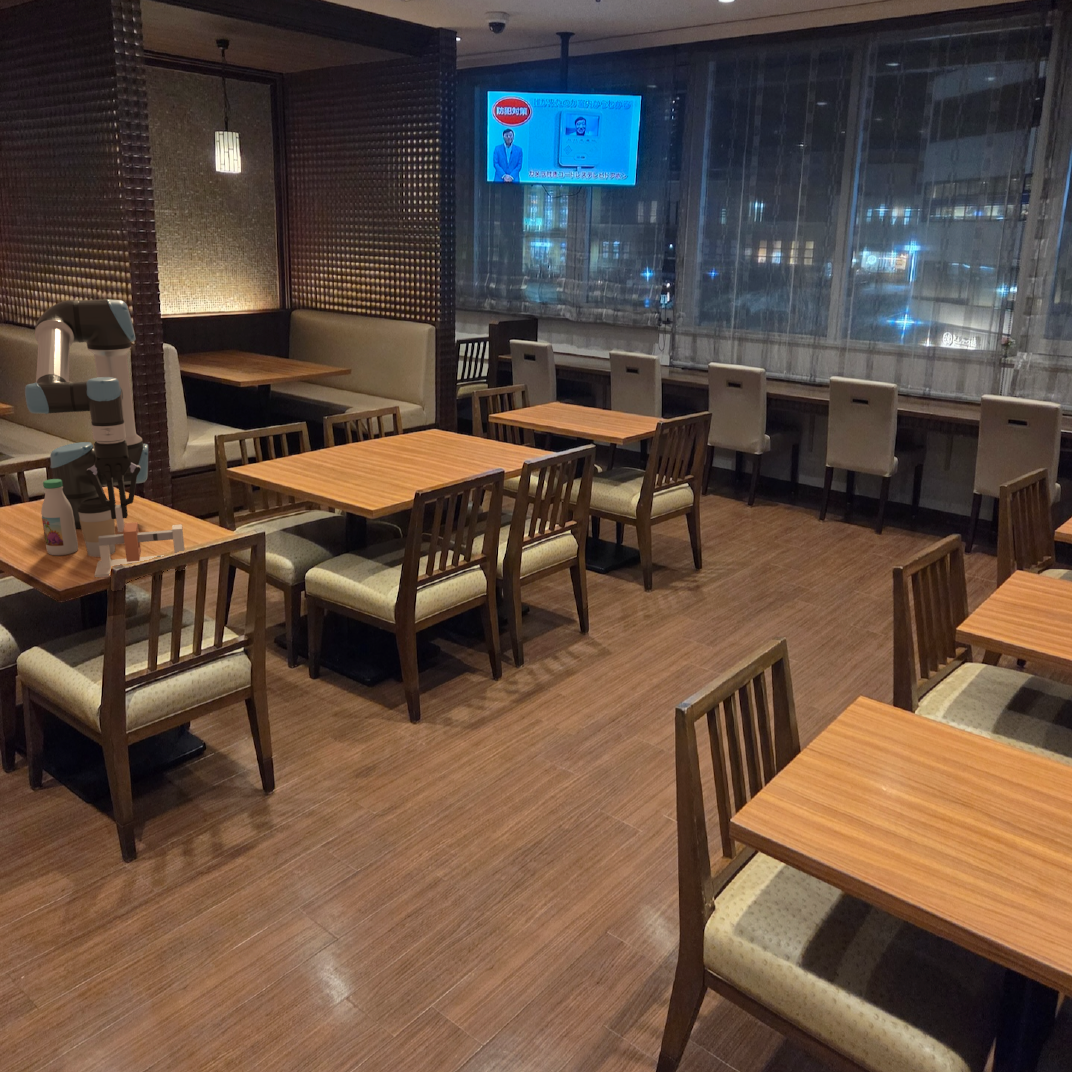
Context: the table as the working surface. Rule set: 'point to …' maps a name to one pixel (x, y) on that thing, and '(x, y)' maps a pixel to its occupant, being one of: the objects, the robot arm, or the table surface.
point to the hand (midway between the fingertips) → (121, 530)
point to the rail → (108, 562)
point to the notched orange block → (131, 542)
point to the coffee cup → (95, 524)
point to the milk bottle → (58, 520)
